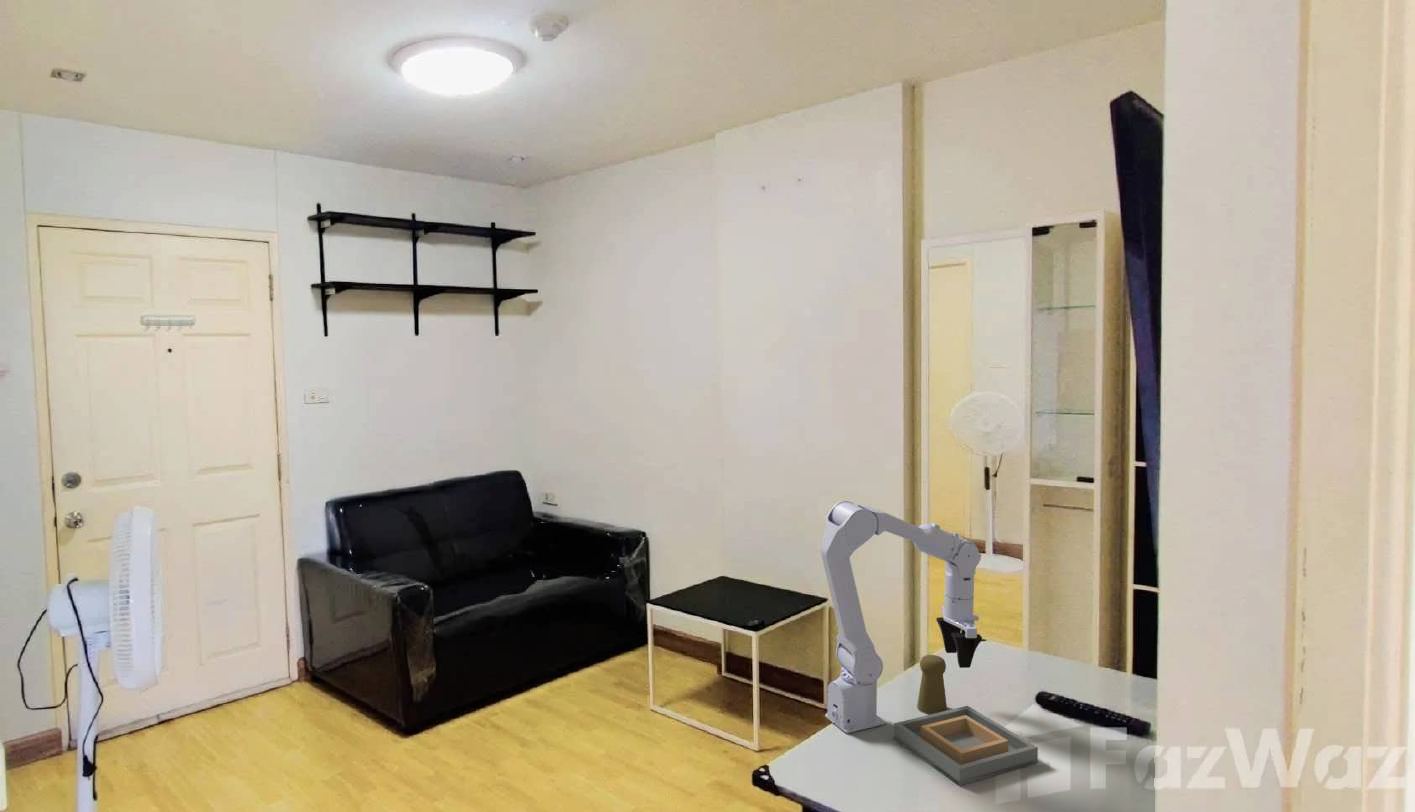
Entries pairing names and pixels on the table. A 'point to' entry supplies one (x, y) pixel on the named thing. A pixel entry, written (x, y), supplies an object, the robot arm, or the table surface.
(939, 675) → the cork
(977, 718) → the tray
